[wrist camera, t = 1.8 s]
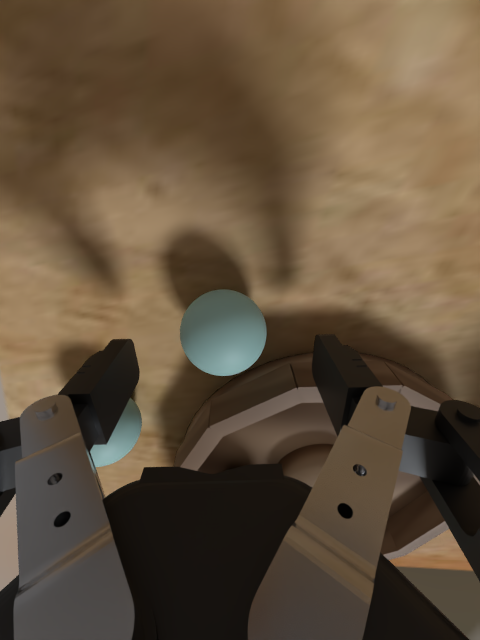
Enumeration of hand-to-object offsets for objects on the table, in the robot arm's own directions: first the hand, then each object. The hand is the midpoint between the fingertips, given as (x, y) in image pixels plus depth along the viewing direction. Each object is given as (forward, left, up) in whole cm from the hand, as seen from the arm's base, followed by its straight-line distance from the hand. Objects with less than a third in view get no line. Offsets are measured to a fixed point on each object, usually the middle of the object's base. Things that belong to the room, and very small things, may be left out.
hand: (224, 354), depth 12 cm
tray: (+11, +6, -3) cm, 13 cm away
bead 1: (+5, -7, -1) cm, 9 cm away
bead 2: (-1, 0, -1) cm, 1 cm away
